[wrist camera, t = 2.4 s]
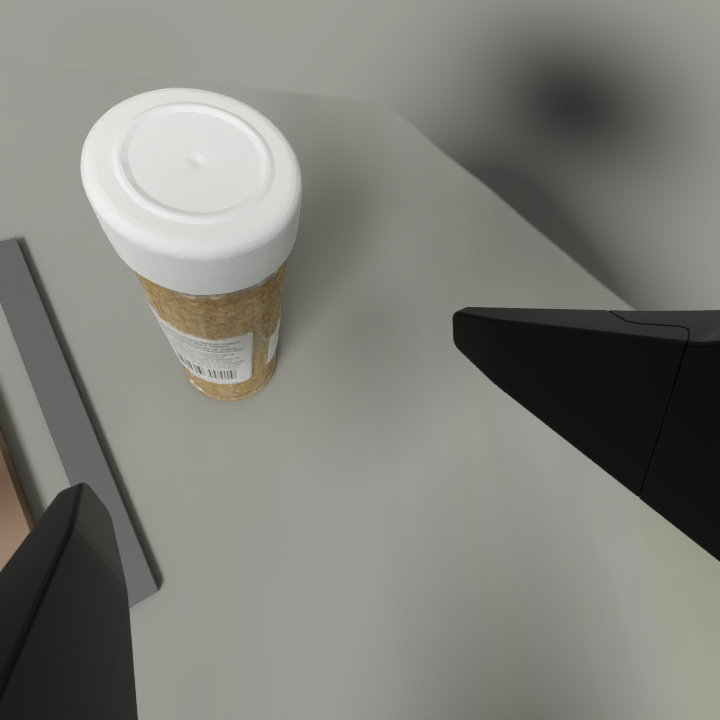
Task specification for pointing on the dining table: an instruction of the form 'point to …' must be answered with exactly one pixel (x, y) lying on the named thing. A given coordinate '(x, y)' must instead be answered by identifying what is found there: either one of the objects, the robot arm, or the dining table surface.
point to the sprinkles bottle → (201, 225)
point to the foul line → (67, 410)
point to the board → (11, 508)
